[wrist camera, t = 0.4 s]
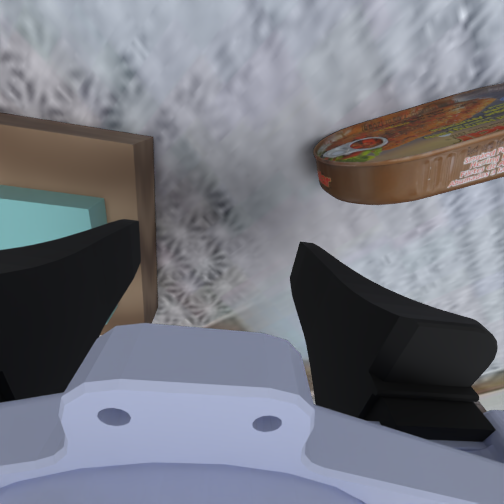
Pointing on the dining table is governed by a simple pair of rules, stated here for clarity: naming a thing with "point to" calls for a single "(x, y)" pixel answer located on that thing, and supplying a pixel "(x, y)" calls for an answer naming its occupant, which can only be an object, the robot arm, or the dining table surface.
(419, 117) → the tin
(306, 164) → the dining table surface
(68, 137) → the brown wooden block
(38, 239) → the teal block
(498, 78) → the dining table surface
